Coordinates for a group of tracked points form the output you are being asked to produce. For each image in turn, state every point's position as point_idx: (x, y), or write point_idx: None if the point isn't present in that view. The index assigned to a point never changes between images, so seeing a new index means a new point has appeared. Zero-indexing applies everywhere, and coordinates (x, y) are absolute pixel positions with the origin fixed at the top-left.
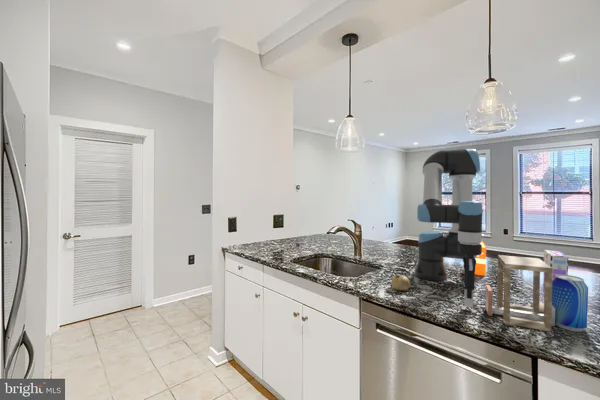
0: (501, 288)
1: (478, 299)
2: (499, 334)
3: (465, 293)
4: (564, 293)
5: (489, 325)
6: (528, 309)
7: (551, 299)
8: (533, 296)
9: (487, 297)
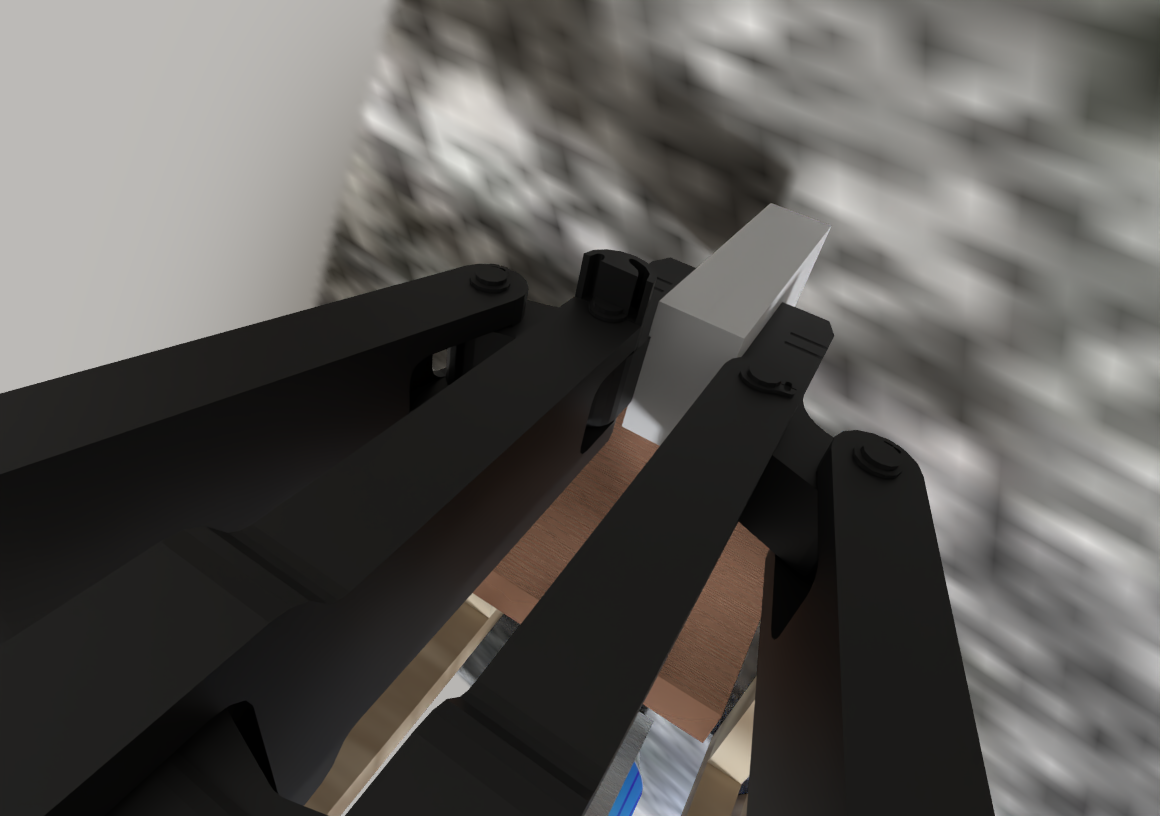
0: (745, 813)
1: None
2: (332, 254)
3: (693, 275)
4: None
5: (442, 263)
6: (722, 737)
7: None
8: None
9: (585, 499)
